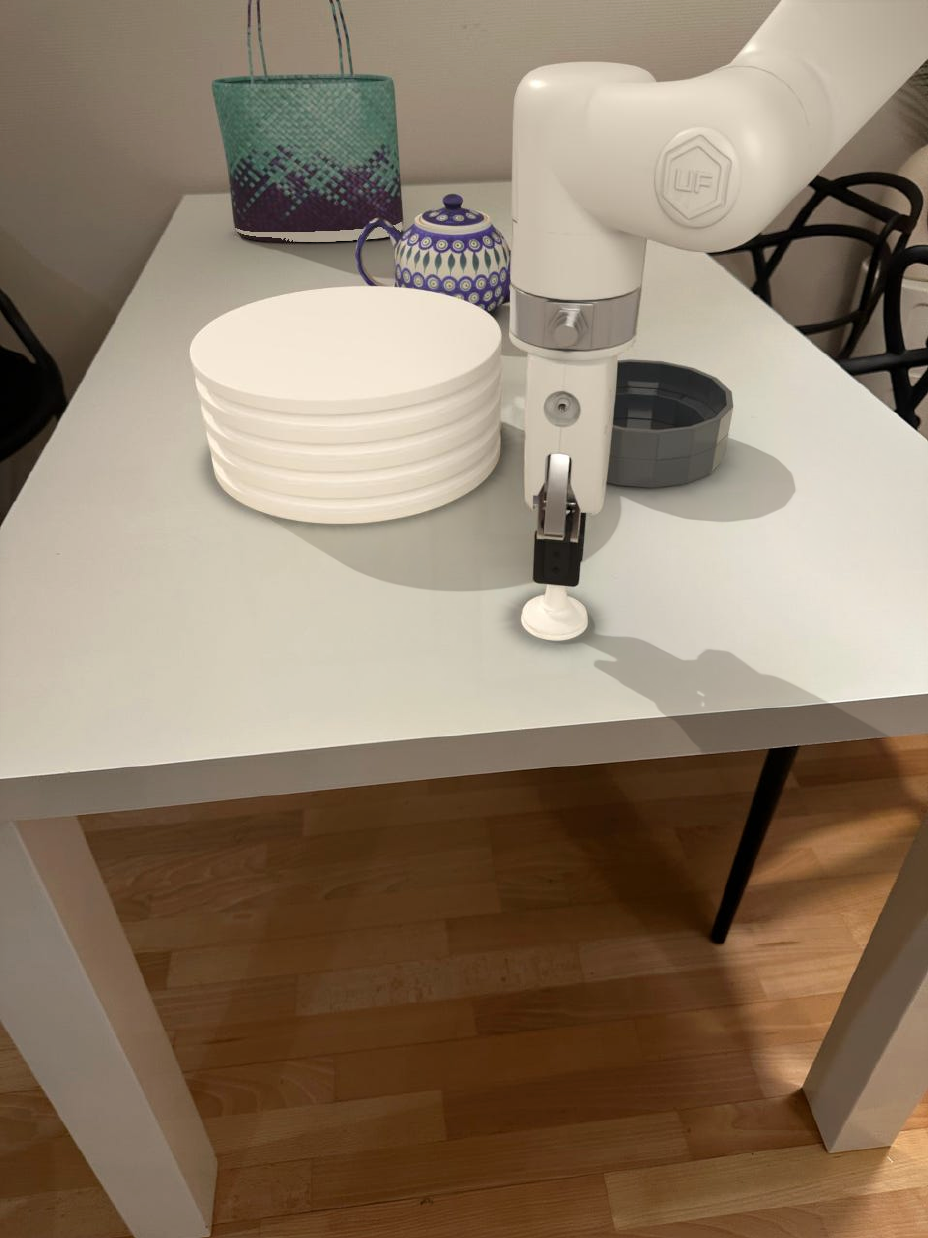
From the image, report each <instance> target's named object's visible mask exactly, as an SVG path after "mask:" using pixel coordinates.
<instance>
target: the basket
mask: <svg viewBox="0 0 928 1238" xmlns="http://www.w3.org/2000/svg"><path fill="white" fill-rule="evenodd" d="M252 1H253V0H248V1H247V35H246V37H247V38H246V40H247V42H246V43H247V53H248V54H247V55H248V65H249V75H241V76H230V77H222V78H216V79H213V80H212V82H211V91H212V97H213V102H214V107H215V112H216V117H217V121H218V126H219V130H220V135H221V140H222V145H223V150H224V155H225V160H226V167H227V174H228V182H229V190H230V191H229V192H230V202H231V210H232V219H233V220H232V221H233V227H234V229H235V228H237V229H240V230H243V231H250V232H315V231H340V230H354V229H364V228H365V227H366V225H367V224H368V223H369V222H371V221H372V220H374V219H375V218H382V219H385V220H386V221H388V222H389V223H390V224H392V225H396V224H398V223H400V222H402V221H403V222H404V210H403V197H402V183H401V182H402V181H401V169H400V152H399V151H400V150H399V134H398V119H397V117H398V116H397V105H396V104H397V103H396V91H395V83H394V79H393V78H392V77H391V76H387V75H383V74H381V75H380V74H371V73H354V69H353V62H352V52H351V46H350V45H351V43H350V38H349V33H348V29H347V25H346V20H345V17H344V13H343V7H342V4H341V1H340V0H335V2H336V4H337V8H338V11H339V15H340V19H341V23H342V28H343V33H344V35H345V43H346V50H347V57H348V66H349V73H345V71H344V60H343V59H344V58H343V47H342V39H341V33H340V28H339V24H338V18H337V12H336V8H335V3H334V0H329V4H330V6H331V7H330V8H331V12H332V17H333V22H334V28H335V33H336V38H337V44H338V55H339V66H340V67H339V68H340V73H299V74H298V73H296V74H268V71H267V66H266V58H265V52H264V46H263V40H262V25H261V24H262V23H261V22H262V21H261V5H260V3H261V0H256V14H257V15H256V17H257V35H258V36H257V37H258V43H259V49H260V55H261V62H262V68H263V74H262V75H261V74H260V75H259V74H258V75H254V67H253V59H252V57H253V56H252V47H251V46H252V45H251V32H252V31H251V29H252V28H251V27H252V26H251V25H252V24H251V23H252V22H251V20H252V15H251V12H252V8H251V7H252ZM236 233H237V234H238V235H239V236H240V237H242V238H245V239H248V240H254V241H257V240H258V241H257V242H264V241H266V242H265V243H282V242H290V241H289V239H288V240H287V241H286V240H285V239H286V238H284V239H283V240H282V239H281V238H272V237H256V236H249V235H244V234H241V233H239V232H237V231H236ZM291 242H293V240H292V241H291Z"/></svg>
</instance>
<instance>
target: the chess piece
mask: <svg viewBox="0 0 928 1238" xmlns="http://www.w3.org/2000/svg"><path fill="white" fill-rule="evenodd" d="M569 512H570V510H566V515H567V514H568V513H569ZM545 588H546V589H545V593H544V594H541V595H537V596H535V597H533V598H531V599H529V600H528V601H527V602H526V603H525V604H524V606H523V608H522V611H521V616H520V621H521V624H522V626H523V628H524V629H525V631H527V632H528V633H529V634H531V635H532V636H534V637H536V638H539V639H543V640H547V641H566V640H567V641H568V640H570V639H574V638H576V637H578V636H579V635H581V634H583V632H585V630H586V629H587V627H588V623H589V618H588V611H587V609H586V607H585V606H584V604H583V603H582V602H580V601H579V600H577V599H576V598H574V597H572V596H569V595H568V594H567V593H568V592H567V586H559V585H549V584H546V587H545Z"/></svg>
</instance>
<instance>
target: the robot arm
mask: <svg viewBox="0 0 928 1238" xmlns="http://www.w3.org/2000/svg"><path fill="white" fill-rule="evenodd" d="M927 60H928V0H780V2H779V3H778V4H777V5H776V7H775V8H774V9H773V10H772V11H771V13H770V14H769V15H768V16H767V18H766V19H765V20H764V21H763V22H762V24H761V25H760V26H759V28H758V29H757V30H756V32H755V33H754V34H753V35H752V37H751V38H750V39H749V40H748V41H747V42H746V44H745V45H744V46H743V47H742V49H741V50H740V51H738V54H736V55H735V57H734V58H733V59H732V60H731V61H730V63H728V64H725V65H723V66H721V67H718V68H715V69H714V70H712V71H710V72H708V73H704V74H701V75H698V76H695V77H691V78H687V79H680V80H671V81H657V80H656V78H655V76H653V75H652V74H651V72H649V71H648V70H646V69H644V68H642V67H639V66H637V65H632V64H627V63H621V62H612V61H611V62H609V61H571V62H568V61H567V62H559V63H552V64H546V65H542V66H539V67H537V68H535V69H532V70H530V71H528V73H526V74H525V75H524V76H523V77H522V79H521V81H520V82H519V83H518V86H517V88H516V91H515V94H514V99H513V109H512V141H511V143H512V145H511V146H512V147H511V148H512V149H511V150H512V153H511V207H510V208H511V209H510V210H511V212H510V250H511V263H510V302H509V327H508V329H509V330H508V334H509V335H508V337H509V341H510V342H511V344H512V345H513V346H515V348H518V349H519V350H521V351H523V352H525V353H527V362H526V381H525V382H526V384H525V385H526V386H525V408H524V409H525V413H524V455H523V456H524V459H523V460H524V463H523V464H524V469H523V471H524V472H523V473H524V501H525V504H526V505H527V506H528V507H529V509H531V510H532V511H534V510H535V509H536V507H537V520H536V521H537V523H536V530H535V531H534V542H533V545H534V546H533V563H532V581H533V582H534V583H535V584H539V585H547V584H549V585H559V586H566V587H571V588H575V587H578V585H579V584H580V577H581V567H582V565H581V564H582V561H583V557H584V546H585V533H586V524H587V523H586V522H587V521H586V520H587V514H590V515H591V516H596V515H597V514H599V513H600V512H601V511H602V509H603V508H604V502H605V495H606V489H607V482H606V481H607V473H608V465H609V456H610V446H611V436H612V426H613V416H614V404H615V394H616V381H617V362H618V360H619V359H618V356H619V355H620V354H623V353H626V352H627V351H629V350H630V349H631V348H633V347H634V345H635V344H636V342H637V335H638V327H639V317H640V307H641V297H642V287H643V279H644V270H645V261H646V252H647V241H648V240H649V241H651V242H655V243H658V244H662V245H664V246H667V247H671V248H674V249H678V250H683V251H687V252H692V253H705V254H706V253H707V254H708V253H710V254H711V253H719V252H724V251H729V250H731V249H734V248H737V247H739V246H742V245H744V244H746V243H747V242H749V241H751V240H752V239H754V238H755V237H756V236H758V235H759V234H760V233H762V232H763V231H764V230H765V229H766V228H768V226H769V225H770V224H771V223H772V222H773V221H774V220H775V219H776V218H777V217H778V216H779V215H780V214H781V213H782V212H783V210H784V209H785V208H786V207H787V206H788V205H789V204H790V203H791V202H792V201H793V200H794V199H795V198H796V197H797V196H798V195H800V193H801V192H802V191H803V190H805V188H806V187H808V186H809V185H810V183H811V182H812V181H813V180H814V179H815V178H816V177H817V176H818V174H819V173H821V171H822V170H823V169H824V168H825V167H826V166H827V165H828V164H829V163H830V162H831V161H832V160H833V159H834V158H835V156H837V154H838V153H839V152H840V151H841V150H842V149H843V148H844V147H845V146H846V145H847V144H848V143H849V141H850V140H852V139H853V137H855V135H856V134H857V133H858V132H859V131H860V130H861V129H862V128H863V127H864V126H865V125H866V124H867V123H868V122H869V121H870V119H872V118H873V117H874V116H875V114H876V113H877V112H879V110H880V109H881V108H882V107H883V106H884V105H885V104H886V102H888V101H889V100H890V98H891V97H893V95H894V94H895V93H896V92H897V91H898V90H899V89H900V88H902V86H903V85H904V84H905V83H906V82H907V81H908V80H910V78H911V77H912V76H913V75H914V74H915V73H916V72H917V70H919V68H920V67H921V66H923V64H925V62H926V61H927ZM566 510H570V512H569V513H568V514H567V515H566Z"/></svg>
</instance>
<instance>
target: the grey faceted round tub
mask: <svg viewBox="0 0 928 1238" xmlns="http://www.w3.org/2000/svg"><path fill="white" fill-rule="evenodd" d="M733 410H734V399H733V392H732V390H731V389H729V387H727V385H725V384H724V383H723V382H722V381H721V380H720V379H719V378H718V377H717V376H713V375H711V374H709V373H706V372H704V371H702V370H699V369H698V368H695V367H692V366H688V365H683V364H678V363H673V362H668V361H664V360H651V359H636V358H635V359H632V358H629V359H618V362H617V381H616V394H615V404H614V416H613V426H612V436H611V446H610V456H609V465H608V473H607V481H606V483H609V484H611V485H612V484H613V485H617V486H627V487H637V488H638V487H639V488H651V489H652V488H660V487H661V488H662V487H669V486H678V485H685V484H688V483H692V482H693V481H696V480H698V479H701V478H704V477H706V476H709V475H711V474H712V473H713V472H714V471H715V470H716V469H717V467H718V466H719V465H720V464H721V463H722V462H723V461H724V460H725V455H726V449H727V444H728V439H729V432H730V428H731V427H730V426H731V423H732V418H733V417H732V416H733Z"/></svg>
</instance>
